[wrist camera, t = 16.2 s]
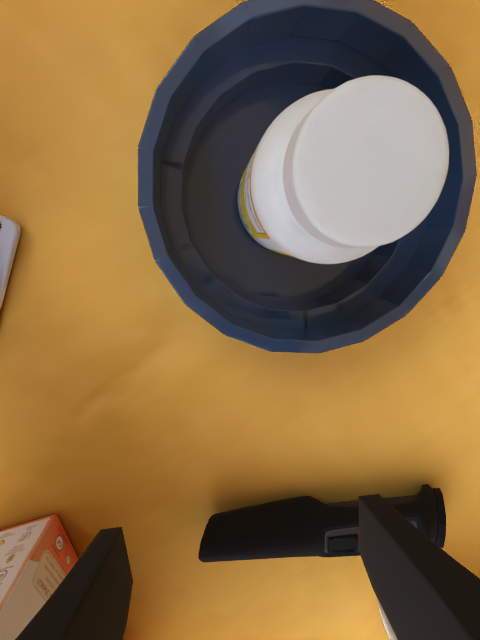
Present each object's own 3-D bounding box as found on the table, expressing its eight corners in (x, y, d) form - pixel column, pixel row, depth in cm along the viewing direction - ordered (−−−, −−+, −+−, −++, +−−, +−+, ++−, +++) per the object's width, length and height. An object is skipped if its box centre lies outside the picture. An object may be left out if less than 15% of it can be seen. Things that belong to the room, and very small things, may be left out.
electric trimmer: (199, 490, 22) (196, 531, 19) (436, 478, 23) (470, 515, 20) (202, 539, 23) (199, 585, 20) (430, 525, 24) (461, 568, 21)
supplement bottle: (215, 208, 18) (217, 178, 8) (283, 118, 17) (367, -22, 8) (295, 274, 19) (374, 314, 10) (362, 193, 18) (519, 148, 9)
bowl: (121, 275, 19) (93, 288, 14) (212, -3, 16) (211, -91, 12) (347, 359, 21) (383, 392, 16) (460, 125, 18) (538, 90, 14)
